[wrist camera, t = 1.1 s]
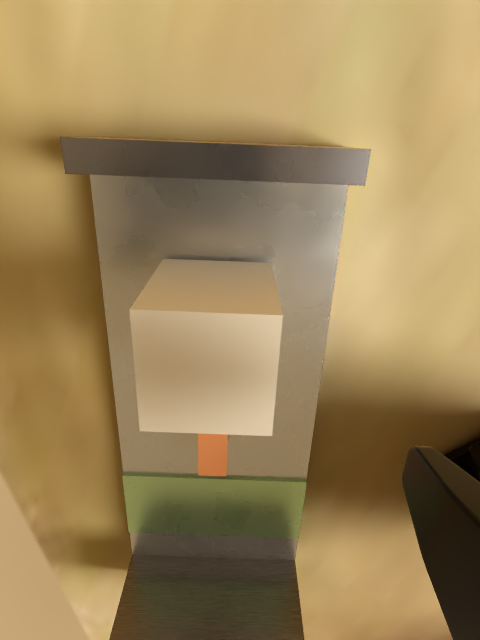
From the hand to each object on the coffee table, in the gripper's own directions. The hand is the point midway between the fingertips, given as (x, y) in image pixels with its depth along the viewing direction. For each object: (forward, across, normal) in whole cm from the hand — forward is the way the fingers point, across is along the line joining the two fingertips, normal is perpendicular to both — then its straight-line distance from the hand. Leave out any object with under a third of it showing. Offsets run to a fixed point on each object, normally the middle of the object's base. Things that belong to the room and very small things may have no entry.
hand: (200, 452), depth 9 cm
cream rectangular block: (+8, 0, +3) cm, 8 cm away
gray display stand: (+9, 0, +6) cm, 11 cm away
